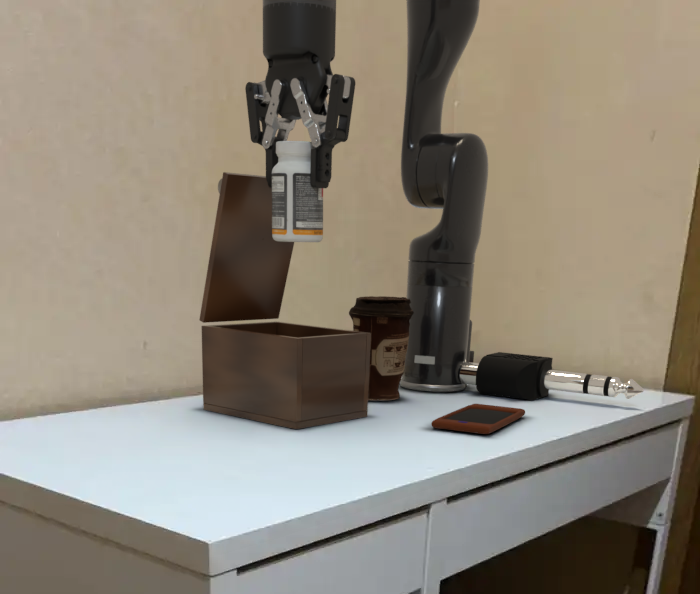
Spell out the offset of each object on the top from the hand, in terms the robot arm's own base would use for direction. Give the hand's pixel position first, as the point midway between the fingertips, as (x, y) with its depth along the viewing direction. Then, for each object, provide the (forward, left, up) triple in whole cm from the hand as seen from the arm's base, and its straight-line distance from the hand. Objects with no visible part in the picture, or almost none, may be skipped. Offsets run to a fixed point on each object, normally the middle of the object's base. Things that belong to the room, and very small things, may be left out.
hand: (297, 187), depth 102 cm
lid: (-1, -8, -7) cm, 10 cm away
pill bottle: (0, 0, -6) cm, 6 cm away
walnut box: (-1, -2, -25) cm, 25 cm away
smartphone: (-15, +17, -25) cm, 33 cm away
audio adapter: (-39, +13, -25) cm, 48 cm away
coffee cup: (-19, -2, -25) cm, 32 cm away
